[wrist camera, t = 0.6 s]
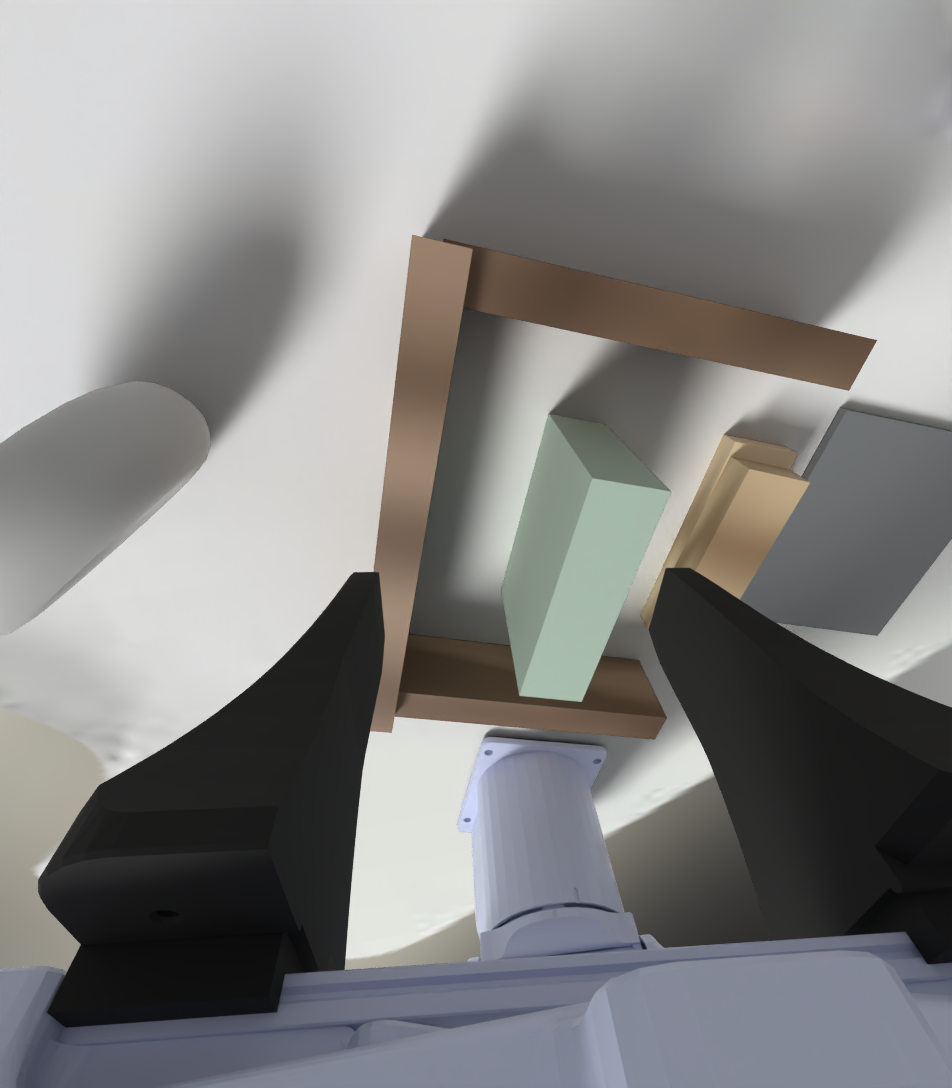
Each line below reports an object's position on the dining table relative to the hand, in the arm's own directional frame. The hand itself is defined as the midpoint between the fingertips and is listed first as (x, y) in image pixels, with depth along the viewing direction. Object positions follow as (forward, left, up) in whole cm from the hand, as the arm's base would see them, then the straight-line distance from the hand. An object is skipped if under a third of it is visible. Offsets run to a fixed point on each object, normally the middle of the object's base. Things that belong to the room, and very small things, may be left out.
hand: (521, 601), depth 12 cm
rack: (-2, -3, -10) cm, 11 cm away
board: (-2, -3, -10) cm, 11 cm away
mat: (-1, -19, -10) cm, 21 cm away
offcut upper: (-2, -11, -9) cm, 15 cm away
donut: (-2, +14, -10) cm, 17 cm away
